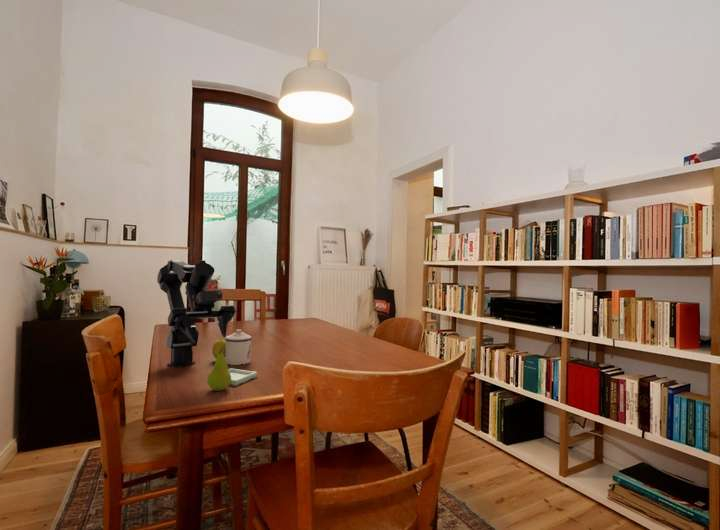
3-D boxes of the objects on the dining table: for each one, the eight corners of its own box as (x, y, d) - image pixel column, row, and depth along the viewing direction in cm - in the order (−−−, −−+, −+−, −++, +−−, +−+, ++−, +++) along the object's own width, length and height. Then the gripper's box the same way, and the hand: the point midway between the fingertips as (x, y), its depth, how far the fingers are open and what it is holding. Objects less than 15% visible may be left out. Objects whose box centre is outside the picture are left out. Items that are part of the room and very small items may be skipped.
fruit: (208, 387, 105) (209, 344, 105) (231, 385, 107) (232, 343, 107) (206, 394, 99) (207, 349, 99) (230, 392, 101) (231, 348, 101)
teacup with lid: (253, 364, 131) (254, 331, 131) (226, 366, 127) (227, 332, 127) (246, 356, 142) (247, 326, 142) (221, 358, 137) (222, 327, 138)
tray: (208, 381, 110) (208, 376, 110) (231, 372, 119) (231, 368, 119) (235, 385, 106) (235, 380, 106) (256, 376, 116) (257, 372, 116)
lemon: (222, 363, 131) (223, 340, 131) (208, 362, 132) (209, 339, 132) (231, 359, 137) (231, 337, 137) (217, 358, 138) (218, 336, 138)
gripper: (172, 280, 106) (182, 324, 98) (234, 280, 119) (248, 319, 111) (163, 304, 112) (172, 348, 104) (223, 301, 125) (236, 340, 117)
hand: (209, 338), depth 109 cm, fingers open, 9 cm apart
